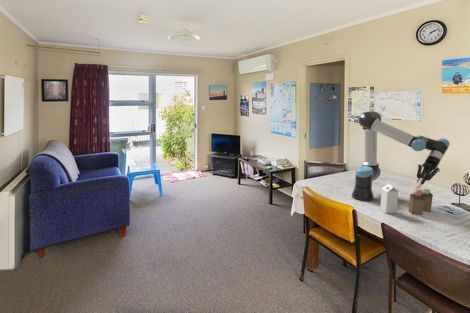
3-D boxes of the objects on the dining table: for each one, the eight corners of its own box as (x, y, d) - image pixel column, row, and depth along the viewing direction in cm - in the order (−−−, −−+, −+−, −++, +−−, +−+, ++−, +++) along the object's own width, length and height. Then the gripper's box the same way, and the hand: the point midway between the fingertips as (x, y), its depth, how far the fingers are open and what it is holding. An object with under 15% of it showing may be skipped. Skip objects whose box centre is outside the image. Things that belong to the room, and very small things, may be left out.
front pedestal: (408, 210, 194) (410, 193, 192) (419, 211, 192) (421, 194, 190) (411, 214, 188) (413, 196, 186) (422, 215, 186) (424, 197, 184)
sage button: (420, 194, 196) (420, 188, 195) (427, 194, 195) (428, 189, 194) (422, 196, 191) (423, 190, 191) (430, 196, 190) (431, 191, 190)
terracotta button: (412, 194, 191) (412, 188, 190) (419, 195, 190) (420, 189, 189) (414, 196, 186) (414, 191, 186) (422, 197, 185) (423, 191, 184)
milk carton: (390, 209, 197) (392, 182, 193) (396, 213, 190) (399, 185, 186) (380, 209, 197) (382, 182, 193) (385, 213, 190) (388, 185, 186)
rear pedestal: (416, 207, 199) (418, 191, 197) (427, 208, 197) (429, 191, 195) (419, 211, 193) (421, 194, 190) (430, 212, 191) (432, 194, 189)
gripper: (446, 164, 187) (430, 193, 182) (425, 160, 198) (409, 188, 193) (443, 157, 184) (426, 186, 179) (421, 154, 195) (405, 181, 190)
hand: (417, 187), depth 186 cm, fingers closed
